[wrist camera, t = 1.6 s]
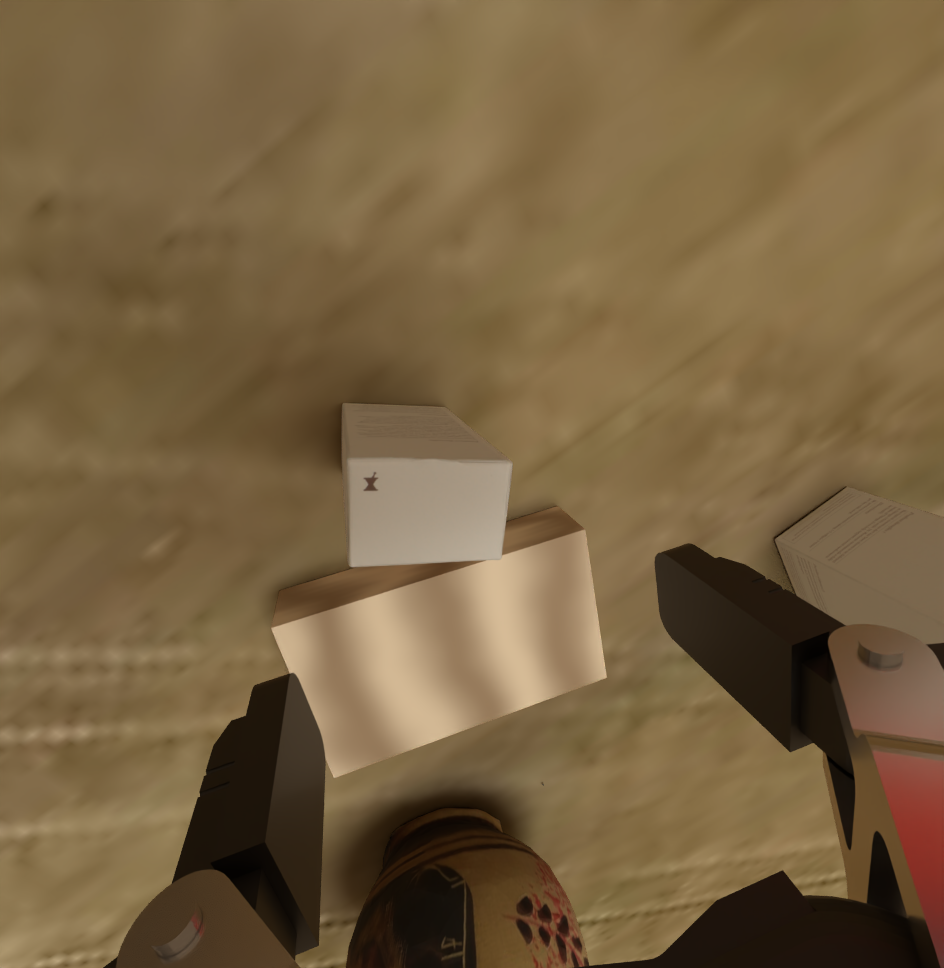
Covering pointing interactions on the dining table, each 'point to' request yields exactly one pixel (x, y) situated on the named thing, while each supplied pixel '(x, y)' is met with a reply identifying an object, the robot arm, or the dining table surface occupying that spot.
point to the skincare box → (420, 487)
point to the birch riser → (442, 641)
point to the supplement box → (870, 563)
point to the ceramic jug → (464, 901)
